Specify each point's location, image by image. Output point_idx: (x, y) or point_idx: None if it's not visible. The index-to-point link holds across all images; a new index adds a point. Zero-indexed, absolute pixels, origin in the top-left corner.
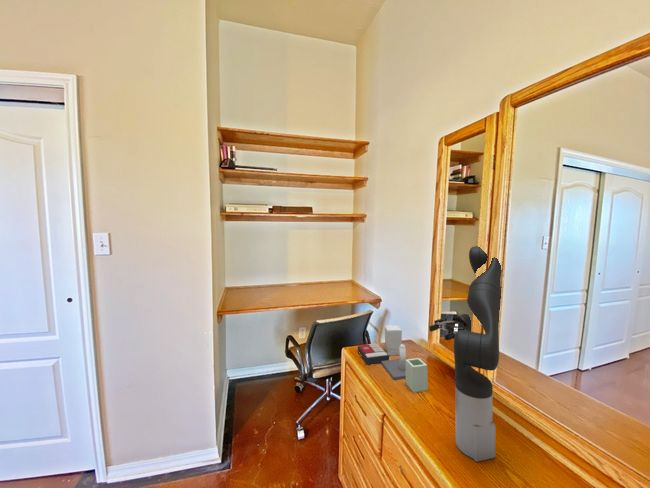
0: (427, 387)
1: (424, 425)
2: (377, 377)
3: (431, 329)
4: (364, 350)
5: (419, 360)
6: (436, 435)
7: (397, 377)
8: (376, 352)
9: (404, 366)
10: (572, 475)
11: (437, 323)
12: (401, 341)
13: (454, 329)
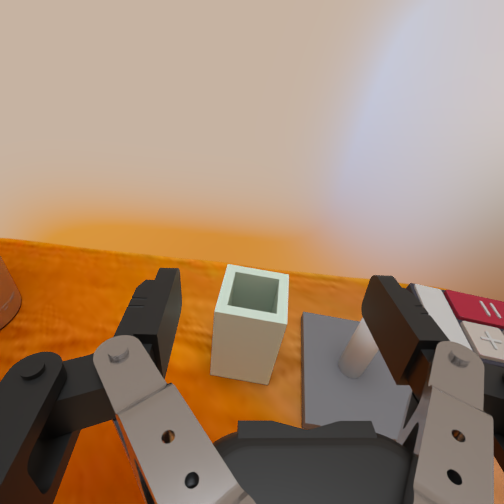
0: (210, 368)
1: (107, 274)
2: (324, 289)
3: (368, 302)
4: (467, 297)
5: (265, 312)
6: (68, 275)
7: (302, 323)
8: (457, 323)
9: (343, 356)
10: None
11: (445, 350)
12: None
13: (163, 389)
